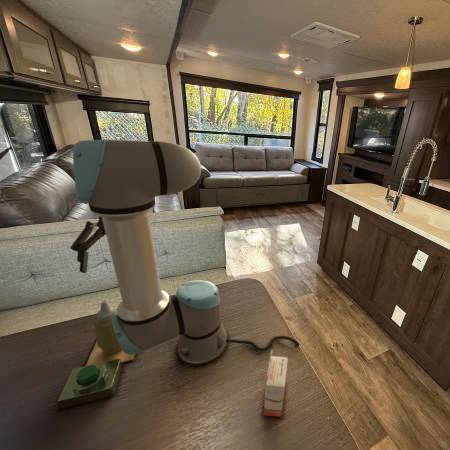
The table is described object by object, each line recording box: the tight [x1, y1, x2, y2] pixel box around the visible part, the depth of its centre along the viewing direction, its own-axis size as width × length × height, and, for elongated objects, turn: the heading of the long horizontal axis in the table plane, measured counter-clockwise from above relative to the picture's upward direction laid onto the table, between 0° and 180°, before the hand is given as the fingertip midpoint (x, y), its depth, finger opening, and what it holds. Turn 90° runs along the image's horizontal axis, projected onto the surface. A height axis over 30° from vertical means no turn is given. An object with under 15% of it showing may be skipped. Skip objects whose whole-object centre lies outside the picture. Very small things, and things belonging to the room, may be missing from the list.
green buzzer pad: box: [57, 359, 123, 409], centre depth 66 cm, size 11×9×5 cm
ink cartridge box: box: [263, 350, 289, 418], centre depth 65 cm, size 9×5×15 cm, turn 178°
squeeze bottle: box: [94, 299, 122, 354], centre depth 74 cm, size 8×8×18 cm
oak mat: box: [85, 340, 135, 366], centre depth 78 cm, size 12×12×1 cm
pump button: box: [77, 365, 98, 385], centre depth 64 cm, size 4×4×2 cm
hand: (109, 269), depth 78 cm, fingers open, 13 cm apart
